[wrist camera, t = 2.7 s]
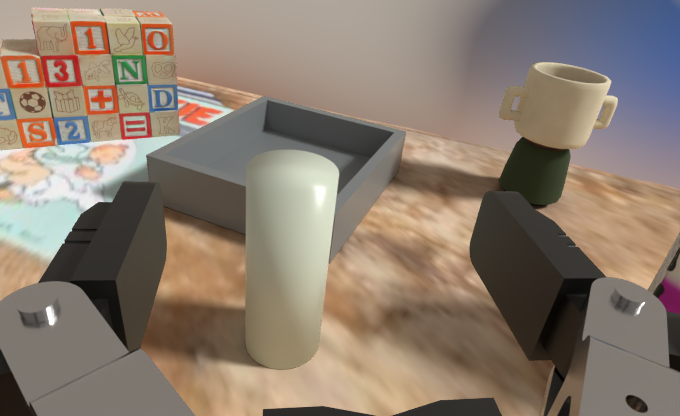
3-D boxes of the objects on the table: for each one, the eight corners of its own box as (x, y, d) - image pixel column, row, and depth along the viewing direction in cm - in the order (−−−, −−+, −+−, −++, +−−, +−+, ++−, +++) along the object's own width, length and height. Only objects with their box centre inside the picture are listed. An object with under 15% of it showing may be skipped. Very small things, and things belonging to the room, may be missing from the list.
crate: (151, 201, 42) (146, 155, 39) (263, 132, 57) (264, 95, 55) (329, 263, 37) (335, 214, 35) (398, 169, 52) (406, 131, 50)
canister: (230, 351, 29) (227, 175, 23) (268, 305, 33) (275, 142, 26) (298, 380, 28) (315, 202, 21) (330, 328, 31) (352, 164, 25)
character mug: (562, 183, 54) (608, 68, 47) (591, 217, 48) (648, 90, 41) (468, 174, 53) (501, 56, 47) (485, 207, 47) (526, 77, 41)
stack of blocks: (-54, 157, 45) (-103, 18, 38) (-45, 131, 49) (-88, 3, 43) (181, 135, 54) (173, 21, 48) (170, 115, 59) (161, 9, 52)
